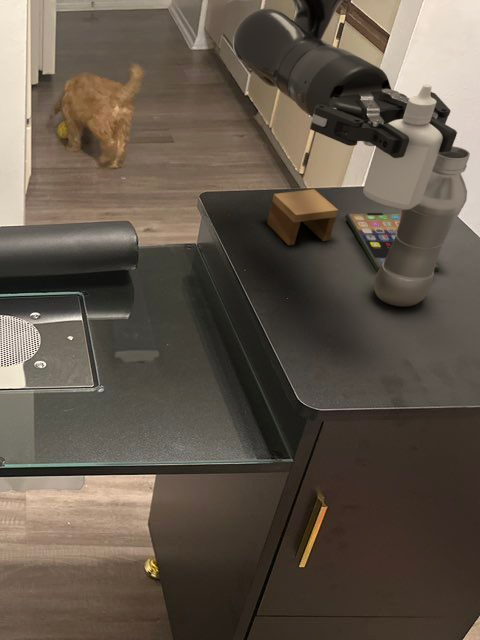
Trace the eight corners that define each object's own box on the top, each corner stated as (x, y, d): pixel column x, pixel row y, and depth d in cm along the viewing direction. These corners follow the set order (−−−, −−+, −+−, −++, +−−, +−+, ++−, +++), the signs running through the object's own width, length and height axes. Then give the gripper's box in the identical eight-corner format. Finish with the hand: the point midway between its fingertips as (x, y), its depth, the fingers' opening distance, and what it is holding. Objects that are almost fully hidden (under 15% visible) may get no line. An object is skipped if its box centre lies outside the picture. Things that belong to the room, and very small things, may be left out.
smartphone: (376, 271, 101) (379, 263, 100) (344, 219, 112) (346, 212, 111) (438, 271, 100) (441, 263, 99) (399, 219, 111) (401, 212, 110)
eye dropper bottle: (385, 214, 76) (422, 99, 68) (356, 190, 80) (389, 79, 72) (425, 209, 76) (467, 93, 68) (395, 185, 80) (431, 73, 72)
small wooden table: (306, 218, 113) (314, 188, 110) (329, 240, 108) (338, 209, 104) (266, 223, 113) (273, 193, 109) (288, 245, 107) (296, 214, 104)
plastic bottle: (360, 300, 96) (409, 154, 83) (383, 279, 99) (434, 136, 86) (410, 319, 92) (471, 169, 79) (432, 296, 95) (494, 150, 82)
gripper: (284, 61, 81) (369, 116, 68) (404, 47, 82) (511, 99, 69) (270, 127, 86) (347, 190, 73) (383, 113, 87) (480, 173, 74)
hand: (426, 145), depth 71 cm, fingers closed on eye dropper bottle, 4 cm apart
